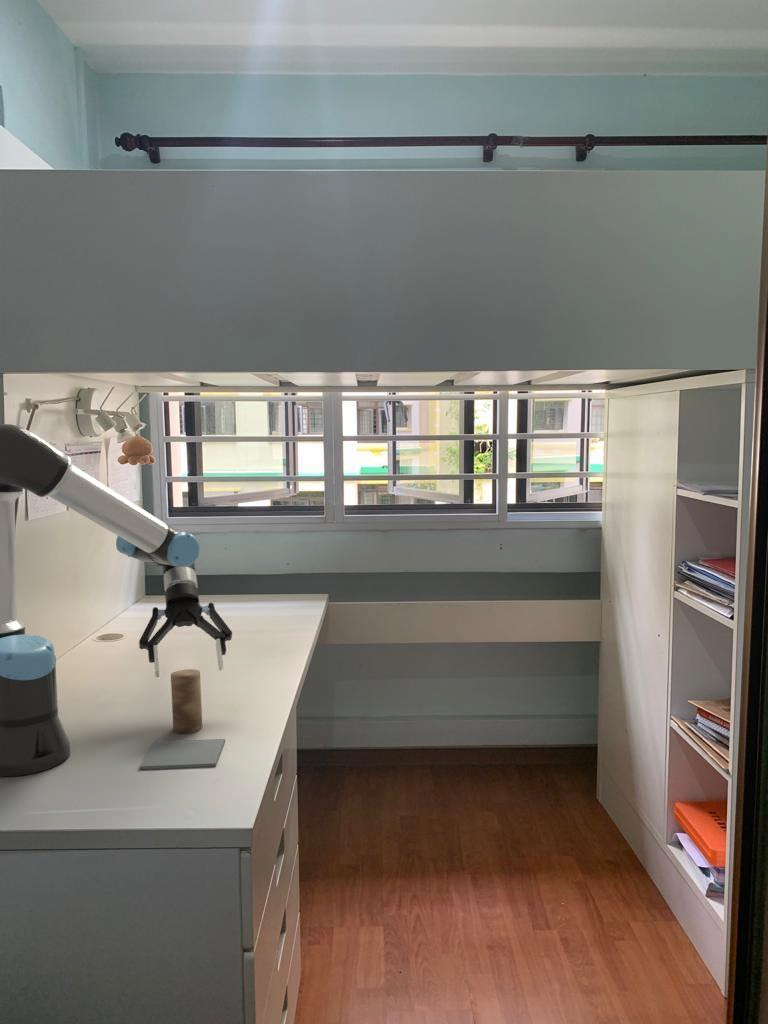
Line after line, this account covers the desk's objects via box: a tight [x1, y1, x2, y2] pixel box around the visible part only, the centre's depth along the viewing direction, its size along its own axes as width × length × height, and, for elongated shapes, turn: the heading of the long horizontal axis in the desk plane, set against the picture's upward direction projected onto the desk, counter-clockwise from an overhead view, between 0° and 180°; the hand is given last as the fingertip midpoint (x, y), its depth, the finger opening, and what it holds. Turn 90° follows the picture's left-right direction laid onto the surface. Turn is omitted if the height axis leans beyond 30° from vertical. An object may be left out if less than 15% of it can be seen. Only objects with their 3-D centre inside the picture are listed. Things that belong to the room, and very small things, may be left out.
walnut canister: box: [170, 668, 203, 735], centre depth 161 cm, size 6×6×12 cm
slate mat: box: [139, 738, 226, 770], centre depth 148 cm, size 14×12×1 cm
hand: (189, 670), depth 167 cm, fingers open, 13 cm apart
